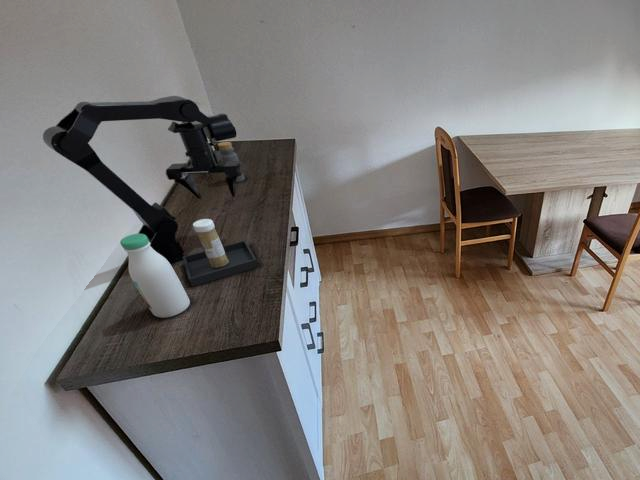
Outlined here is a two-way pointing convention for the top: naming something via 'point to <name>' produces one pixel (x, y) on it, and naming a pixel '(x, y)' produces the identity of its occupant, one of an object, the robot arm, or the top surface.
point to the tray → (204, 272)
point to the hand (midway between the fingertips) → (217, 197)
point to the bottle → (229, 156)
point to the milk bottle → (154, 277)
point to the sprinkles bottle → (211, 242)
